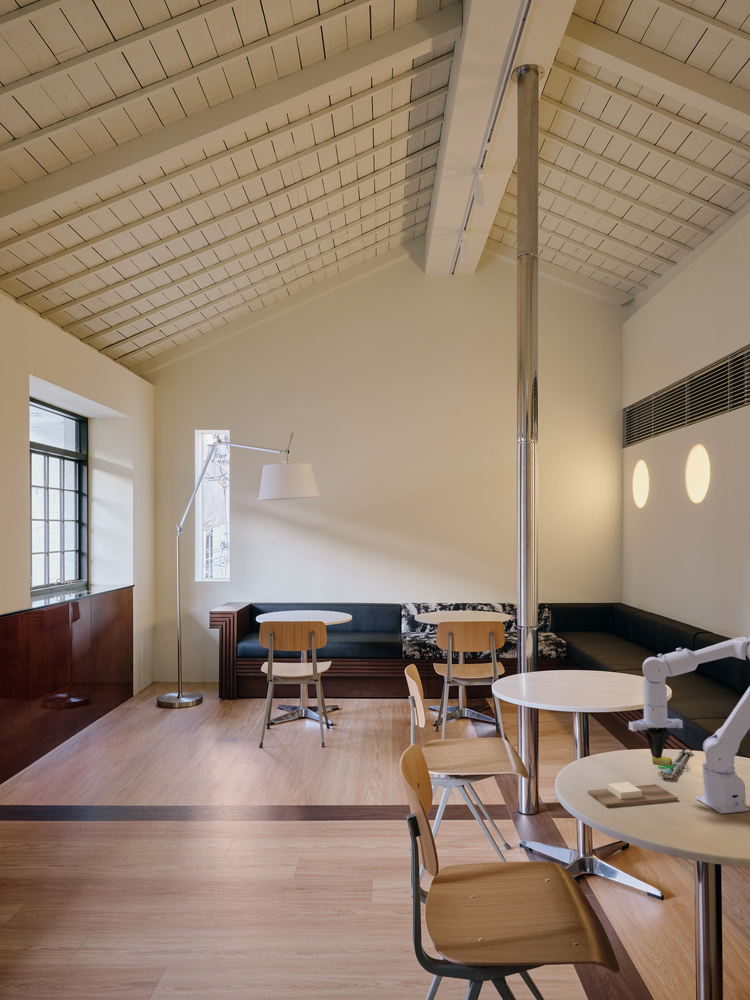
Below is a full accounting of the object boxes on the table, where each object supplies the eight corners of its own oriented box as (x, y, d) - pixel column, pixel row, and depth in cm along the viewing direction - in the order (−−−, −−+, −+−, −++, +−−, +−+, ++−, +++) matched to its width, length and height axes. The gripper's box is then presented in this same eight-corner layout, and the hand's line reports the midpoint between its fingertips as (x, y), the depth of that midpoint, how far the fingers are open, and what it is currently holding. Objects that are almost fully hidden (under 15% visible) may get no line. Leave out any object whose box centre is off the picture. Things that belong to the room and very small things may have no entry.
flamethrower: (641, 775, 185) (680, 785, 179) (642, 766, 185) (680, 775, 179) (663, 749, 209) (698, 757, 203) (663, 741, 209) (698, 749, 203)
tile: (641, 790, 168) (620, 792, 167) (641, 797, 168) (620, 799, 167) (628, 782, 174) (607, 783, 173) (628, 788, 174) (607, 790, 173)
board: (677, 800, 168) (677, 797, 168) (606, 807, 164) (606, 804, 164) (656, 787, 177) (656, 784, 177) (588, 793, 173) (588, 790, 173)
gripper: (670, 699, 178) (671, 750, 177) (621, 701, 175) (622, 753, 174) (687, 705, 171) (688, 758, 170) (637, 708, 168) (638, 762, 167)
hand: (656, 756), depth 172 cm, fingers closed
